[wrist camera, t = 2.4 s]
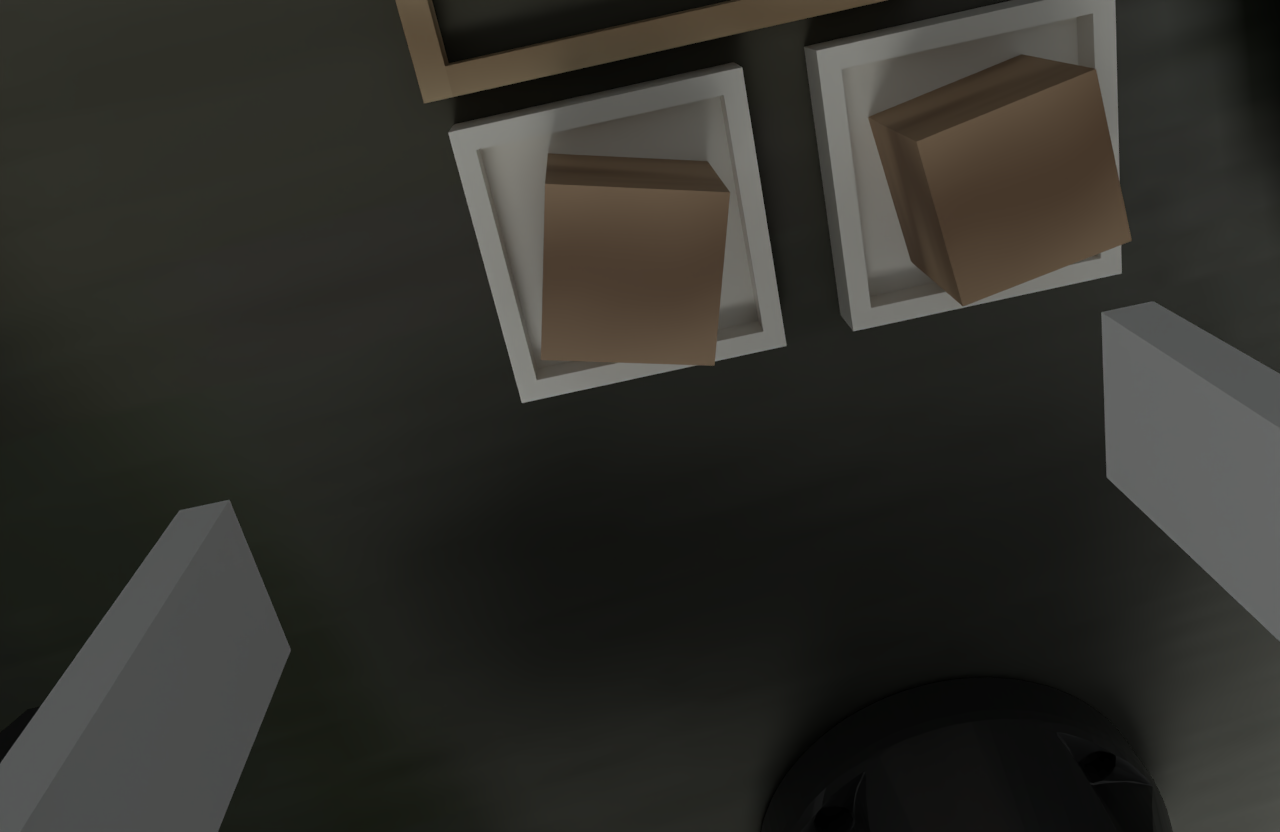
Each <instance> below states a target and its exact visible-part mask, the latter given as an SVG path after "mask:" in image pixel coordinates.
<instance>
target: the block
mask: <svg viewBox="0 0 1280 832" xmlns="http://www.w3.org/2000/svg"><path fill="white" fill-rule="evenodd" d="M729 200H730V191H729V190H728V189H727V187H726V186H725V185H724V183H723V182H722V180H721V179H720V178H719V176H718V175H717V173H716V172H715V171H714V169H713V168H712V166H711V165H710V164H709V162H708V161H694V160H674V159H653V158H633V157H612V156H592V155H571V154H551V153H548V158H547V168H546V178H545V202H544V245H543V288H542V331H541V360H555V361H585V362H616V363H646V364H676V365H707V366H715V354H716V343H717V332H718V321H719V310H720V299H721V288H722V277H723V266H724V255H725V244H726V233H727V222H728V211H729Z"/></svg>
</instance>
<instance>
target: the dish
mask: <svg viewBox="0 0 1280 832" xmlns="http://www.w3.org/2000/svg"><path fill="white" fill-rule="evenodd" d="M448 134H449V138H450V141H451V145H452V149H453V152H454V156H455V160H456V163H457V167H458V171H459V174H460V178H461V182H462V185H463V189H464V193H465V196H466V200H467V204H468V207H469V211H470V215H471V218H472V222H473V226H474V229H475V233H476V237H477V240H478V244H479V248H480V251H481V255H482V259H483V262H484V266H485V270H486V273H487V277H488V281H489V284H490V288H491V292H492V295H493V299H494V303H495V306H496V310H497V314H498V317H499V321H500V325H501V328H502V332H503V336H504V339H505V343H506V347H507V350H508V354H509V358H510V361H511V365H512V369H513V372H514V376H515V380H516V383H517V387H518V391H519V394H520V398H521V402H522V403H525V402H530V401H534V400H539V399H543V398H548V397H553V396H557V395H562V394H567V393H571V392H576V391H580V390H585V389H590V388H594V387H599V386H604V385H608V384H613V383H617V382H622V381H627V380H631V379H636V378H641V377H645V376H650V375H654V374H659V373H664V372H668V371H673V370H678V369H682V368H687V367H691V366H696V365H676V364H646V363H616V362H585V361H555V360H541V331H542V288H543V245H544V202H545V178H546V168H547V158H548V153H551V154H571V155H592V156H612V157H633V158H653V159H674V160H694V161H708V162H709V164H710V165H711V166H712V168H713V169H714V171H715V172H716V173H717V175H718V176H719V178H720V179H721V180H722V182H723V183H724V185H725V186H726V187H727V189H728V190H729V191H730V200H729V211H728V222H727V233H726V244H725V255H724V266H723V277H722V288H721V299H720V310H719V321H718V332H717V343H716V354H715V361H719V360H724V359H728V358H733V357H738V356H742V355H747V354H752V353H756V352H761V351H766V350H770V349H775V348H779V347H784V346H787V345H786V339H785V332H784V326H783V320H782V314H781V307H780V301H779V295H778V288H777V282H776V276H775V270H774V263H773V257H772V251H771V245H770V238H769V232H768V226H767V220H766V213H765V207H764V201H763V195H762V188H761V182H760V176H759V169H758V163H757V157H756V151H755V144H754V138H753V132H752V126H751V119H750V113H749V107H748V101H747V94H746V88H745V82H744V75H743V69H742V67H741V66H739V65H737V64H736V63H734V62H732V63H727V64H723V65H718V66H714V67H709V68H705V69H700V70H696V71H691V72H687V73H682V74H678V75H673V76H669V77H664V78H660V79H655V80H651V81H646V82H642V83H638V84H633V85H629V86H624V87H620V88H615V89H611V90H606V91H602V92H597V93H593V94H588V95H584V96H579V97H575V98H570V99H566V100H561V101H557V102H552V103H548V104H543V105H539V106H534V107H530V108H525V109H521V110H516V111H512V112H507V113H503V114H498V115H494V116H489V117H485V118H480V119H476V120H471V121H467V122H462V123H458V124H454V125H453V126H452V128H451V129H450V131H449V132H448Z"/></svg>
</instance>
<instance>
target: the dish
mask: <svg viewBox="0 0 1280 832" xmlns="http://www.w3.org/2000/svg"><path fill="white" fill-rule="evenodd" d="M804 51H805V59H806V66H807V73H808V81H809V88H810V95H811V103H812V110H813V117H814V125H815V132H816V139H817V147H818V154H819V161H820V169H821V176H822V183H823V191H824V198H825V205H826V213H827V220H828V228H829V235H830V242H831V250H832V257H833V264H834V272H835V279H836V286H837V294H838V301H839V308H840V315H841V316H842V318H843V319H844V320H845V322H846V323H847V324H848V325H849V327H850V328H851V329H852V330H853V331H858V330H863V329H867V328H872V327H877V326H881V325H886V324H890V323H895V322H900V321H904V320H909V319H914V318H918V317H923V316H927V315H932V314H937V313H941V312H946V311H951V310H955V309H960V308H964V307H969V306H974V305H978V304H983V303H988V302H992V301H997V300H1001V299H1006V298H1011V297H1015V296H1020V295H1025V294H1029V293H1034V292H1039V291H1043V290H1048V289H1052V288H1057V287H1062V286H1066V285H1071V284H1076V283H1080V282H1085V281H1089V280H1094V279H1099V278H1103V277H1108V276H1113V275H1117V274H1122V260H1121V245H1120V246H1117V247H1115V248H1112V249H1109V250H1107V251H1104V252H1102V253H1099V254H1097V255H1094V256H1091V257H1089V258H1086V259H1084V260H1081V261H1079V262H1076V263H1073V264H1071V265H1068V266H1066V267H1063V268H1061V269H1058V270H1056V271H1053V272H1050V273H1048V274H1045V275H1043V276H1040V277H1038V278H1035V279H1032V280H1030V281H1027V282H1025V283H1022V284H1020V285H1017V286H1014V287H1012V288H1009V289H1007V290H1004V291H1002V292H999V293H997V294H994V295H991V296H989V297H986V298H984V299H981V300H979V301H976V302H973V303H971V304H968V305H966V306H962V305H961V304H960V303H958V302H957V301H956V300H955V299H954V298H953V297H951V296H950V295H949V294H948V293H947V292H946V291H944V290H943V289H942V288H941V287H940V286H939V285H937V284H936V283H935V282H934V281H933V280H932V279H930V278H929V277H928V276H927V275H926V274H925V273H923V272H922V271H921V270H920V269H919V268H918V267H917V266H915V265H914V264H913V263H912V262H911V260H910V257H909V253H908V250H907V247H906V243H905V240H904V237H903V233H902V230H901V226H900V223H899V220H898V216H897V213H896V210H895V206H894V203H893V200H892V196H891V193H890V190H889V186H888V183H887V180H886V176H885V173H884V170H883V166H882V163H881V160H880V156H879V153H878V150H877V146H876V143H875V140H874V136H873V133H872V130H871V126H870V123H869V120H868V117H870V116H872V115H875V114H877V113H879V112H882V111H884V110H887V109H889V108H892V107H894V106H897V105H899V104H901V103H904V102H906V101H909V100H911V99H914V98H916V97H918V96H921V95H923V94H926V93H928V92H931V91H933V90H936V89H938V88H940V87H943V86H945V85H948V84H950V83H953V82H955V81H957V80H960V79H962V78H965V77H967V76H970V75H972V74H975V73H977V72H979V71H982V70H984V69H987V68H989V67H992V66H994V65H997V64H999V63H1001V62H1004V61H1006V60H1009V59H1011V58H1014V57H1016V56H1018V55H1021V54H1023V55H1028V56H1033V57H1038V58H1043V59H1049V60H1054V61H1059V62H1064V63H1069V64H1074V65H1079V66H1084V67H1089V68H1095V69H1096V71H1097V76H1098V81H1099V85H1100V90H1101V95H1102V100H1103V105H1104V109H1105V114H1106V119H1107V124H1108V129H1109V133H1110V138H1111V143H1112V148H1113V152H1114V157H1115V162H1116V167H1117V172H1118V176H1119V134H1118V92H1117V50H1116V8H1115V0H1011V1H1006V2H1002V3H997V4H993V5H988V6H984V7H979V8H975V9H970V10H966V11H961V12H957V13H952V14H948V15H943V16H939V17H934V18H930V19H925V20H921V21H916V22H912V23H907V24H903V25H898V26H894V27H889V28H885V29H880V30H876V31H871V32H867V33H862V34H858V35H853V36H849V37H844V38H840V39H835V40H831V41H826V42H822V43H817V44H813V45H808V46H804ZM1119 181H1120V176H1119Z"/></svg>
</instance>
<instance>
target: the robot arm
mask: <svg viewBox="0 0 1280 832" xmlns="http://www.w3.org/2000/svg"><path fill="white" fill-rule="evenodd" d="M1101 317H1102V349H1103V381H1104V412H1105V444H1106V475H1107V478H1108V479H1109V480H1110V481H1111V482H1112V483H1113V484H1114V485H1115V486H1116V487H1117V488H1118V489H1119V490H1120V491H1122V492H1123V493H1124V494H1125V495H1126V496H1127V497H1128V498H1129V499H1130V500H1131V501H1132V502H1133V503H1134V504H1135V505H1136V506H1137V507H1138V508H1139V509H1140V510H1142V511H1143V512H1144V513H1145V514H1146V515H1147V516H1148V517H1149V518H1150V519H1151V520H1152V521H1153V522H1154V523H1155V524H1156V525H1157V526H1158V527H1159V528H1161V529H1162V530H1163V531H1164V532H1165V533H1166V534H1167V535H1168V536H1169V537H1170V538H1171V539H1172V540H1173V541H1174V542H1175V543H1176V544H1177V545H1178V546H1179V547H1181V548H1182V549H1183V550H1184V551H1185V552H1186V553H1187V554H1188V555H1189V556H1190V557H1191V558H1192V559H1193V560H1194V561H1195V562H1196V563H1197V564H1198V565H1199V566H1201V567H1202V568H1203V569H1204V570H1205V571H1206V572H1207V573H1208V574H1209V575H1210V576H1211V577H1212V578H1213V579H1214V580H1215V581H1216V582H1217V583H1218V584H1220V585H1221V586H1222V587H1223V588H1224V589H1225V590H1226V591H1227V592H1228V593H1229V594H1230V595H1231V596H1232V597H1233V598H1234V599H1235V600H1236V601H1237V602H1238V603H1240V604H1241V605H1242V606H1243V607H1244V608H1245V609H1246V610H1247V611H1248V612H1249V613H1250V614H1251V615H1252V616H1253V617H1254V618H1255V619H1256V620H1257V621H1258V622H1260V623H1261V624H1262V625H1263V626H1264V627H1265V628H1266V629H1267V630H1268V631H1269V632H1270V633H1271V634H1272V635H1273V636H1274V637H1275V638H1276V639H1277V640H1279V641H1280V373H1278V372H1276V371H1274V370H1273V369H1271V368H1269V367H1267V366H1266V365H1264V364H1262V363H1260V362H1259V361H1257V360H1255V359H1253V358H1252V357H1250V356H1248V355H1246V354H1245V353H1243V352H1241V351H1239V350H1238V349H1236V348H1234V347H1232V346H1231V345H1229V344H1227V343H1225V342H1224V341H1222V340H1220V339H1218V338H1217V337H1215V336H1213V335H1212V334H1210V333H1208V332H1206V331H1205V330H1203V329H1201V328H1199V327H1198V326H1196V325H1194V324H1192V323H1191V322H1189V321H1187V320H1185V319H1184V318H1182V317H1180V316H1178V315H1177V314H1175V313H1173V312H1171V311H1170V310H1168V309H1166V308H1164V307H1163V306H1161V305H1159V304H1157V303H1156V302H1154V301H1151V302H1146V303H1142V304H1137V305H1133V306H1128V307H1123V308H1119V309H1114V310H1109V311H1105V312H1101ZM290 651H291V649H290V647H289V644H288V642H287V639H286V637H285V634H284V632H283V629H282V627H281V625H280V622H279V620H278V617H277V615H276V612H275V610H274V607H273V605H272V603H271V600H270V598H269V595H268V593H267V590H266V588H265V586H264V583H263V581H262V578H261V576H260V573H259V571H258V568H257V566H256V564H255V561H254V559H253V556H252V554H251V551H250V549H249V546H248V544H247V542H246V539H245V537H244V534H243V532H242V529H241V527H240V524H239V522H238V520H237V517H236V515H235V512H234V510H233V507H232V505H231V502H230V500H226V501H221V502H216V503H212V504H207V505H202V506H198V507H193V508H188V509H184V510H179V512H178V513H177V515H176V516H175V517H174V519H173V520H172V522H171V523H170V524H169V526H168V527H167V529H166V530H165V532H164V533H163V534H162V536H161V537H160V539H159V540H158V541H157V543H156V544H155V546H154V547H153V548H152V550H151V551H150V553H149V554H148V556H147V557H146V558H145V560H144V561H143V563H142V564H141V565H140V567H139V568H138V570H137V571H136V572H135V574H134V575H133V577H132V578H131V579H130V581H129V582H128V584H127V585H126V587H125V588H124V589H123V591H122V592H121V594H120V595H119V596H118V598H117V599H116V601H115V602H114V603H113V605H112V606H111V608H110V609H109V611H108V612H107V613H106V615H105V616H104V618H103V619H102V620H101V622H100V623H99V625H98V626H97V627H96V629H95V630H94V632H93V633H92V635H91V636H90V637H89V639H88V640H87V642H86V643H85V644H84V646H83V647H82V649H81V650H80V651H79V653H78V654H77V656H76V657H75V658H74V660H73V661H72V663H71V664H70V666H69V667H68V668H67V670H66V671H65V673H64V674H63V675H62V677H61V678H60V680H59V681H58V682H57V684H56V685H55V687H54V688H53V690H52V691H51V692H50V694H49V695H48V697H47V698H46V699H45V701H44V702H43V704H42V705H41V706H40V707H37V708H32V709H28V710H26V711H25V712H24V713H23V714H22V715H21V716H19V717H18V718H17V719H16V720H15V721H14V722H12V723H11V724H10V725H9V726H8V727H7V728H5V729H4V730H3V731H2V732H1V733H0V832H218V830H219V827H220V825H221V822H222V820H223V817H224V815H225V812H226V810H227V808H228V805H229V803H230V800H231V798H232V795H233V793H234V790H235V788H236V785H237V783H238V780H239V778H240V775H241V773H242V770H243V768H244V765H245V763H246V760H247V758H248V755H249V753H250V750H251V748H252V745H253V743H254V740H255V738H256V735H257V733H258V730H259V728H260V725H261V723H262V720H263V718H264V715H265V713H266V710H267V708H268V706H269V703H270V701H271V698H272V696H273V693H274V691H275V688H276V686H277V683H278V681H279V678H280V676H281V673H282V671H283V668H284V666H285V663H286V661H287V658H288V656H289V653H290ZM761 832H1173V831H1172V827H1171V823H1170V819H1169V815H1168V812H1167V808H1166V806H1165V803H1164V801H1163V798H1162V796H1161V794H1160V792H1159V790H1158V788H1157V786H1156V784H1155V782H1154V780H1153V779H1152V777H1151V776H1150V774H1149V772H1148V771H1147V769H1146V768H1145V767H1144V765H1143V764H1142V763H1141V761H1140V760H1139V758H1138V757H1137V756H1136V754H1135V753H1134V751H1133V750H1132V749H1131V747H1130V746H1129V744H1128V743H1127V742H1126V740H1125V739H1124V737H1123V736H1122V735H1121V734H1120V732H1119V731H1118V730H1117V729H1116V728H1115V727H1114V726H1113V725H1112V724H1111V723H1110V721H1109V720H1108V719H1106V718H1105V717H1104V716H1103V715H1102V714H1100V713H1099V712H1098V711H1096V710H1095V709H1094V708H1092V707H1091V706H1089V705H1088V704H1086V703H1084V702H1083V701H1081V700H1079V699H1077V698H1075V697H1073V696H1071V695H1069V694H1067V693H1065V692H1062V691H1059V690H1056V689H1054V688H1051V687H1047V686H1044V685H1041V684H1036V683H1032V682H1027V681H1021V680H1014V679H1004V678H966V679H957V680H948V681H943V682H937V683H932V684H928V685H924V686H920V687H916V688H913V689H909V690H906V691H903V692H900V693H897V694H895V695H892V696H889V697H887V698H885V699H882V700H880V701H878V702H875V703H873V704H871V705H869V706H867V707H865V708H864V709H862V710H860V711H858V712H856V713H855V714H853V715H851V716H850V717H848V718H846V719H845V720H843V721H842V722H840V723H839V724H837V725H836V726H834V727H833V728H832V729H831V730H829V731H828V732H827V733H825V734H824V735H823V736H822V737H820V738H819V739H818V740H817V741H816V742H815V743H814V744H813V745H811V746H810V747H809V748H808V749H807V750H806V751H805V752H804V754H803V755H802V756H801V757H800V758H799V759H798V760H797V761H796V763H795V764H794V765H793V766H792V767H791V769H790V770H789V771H788V773H787V774H786V775H785V777H784V778H783V780H782V782H781V783H780V785H779V786H778V788H777V790H776V792H775V794H774V796H773V797H772V799H771V802H770V804H769V807H768V809H767V811H766V815H765V818H764V821H763V825H762V829H761Z"/></svg>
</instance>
